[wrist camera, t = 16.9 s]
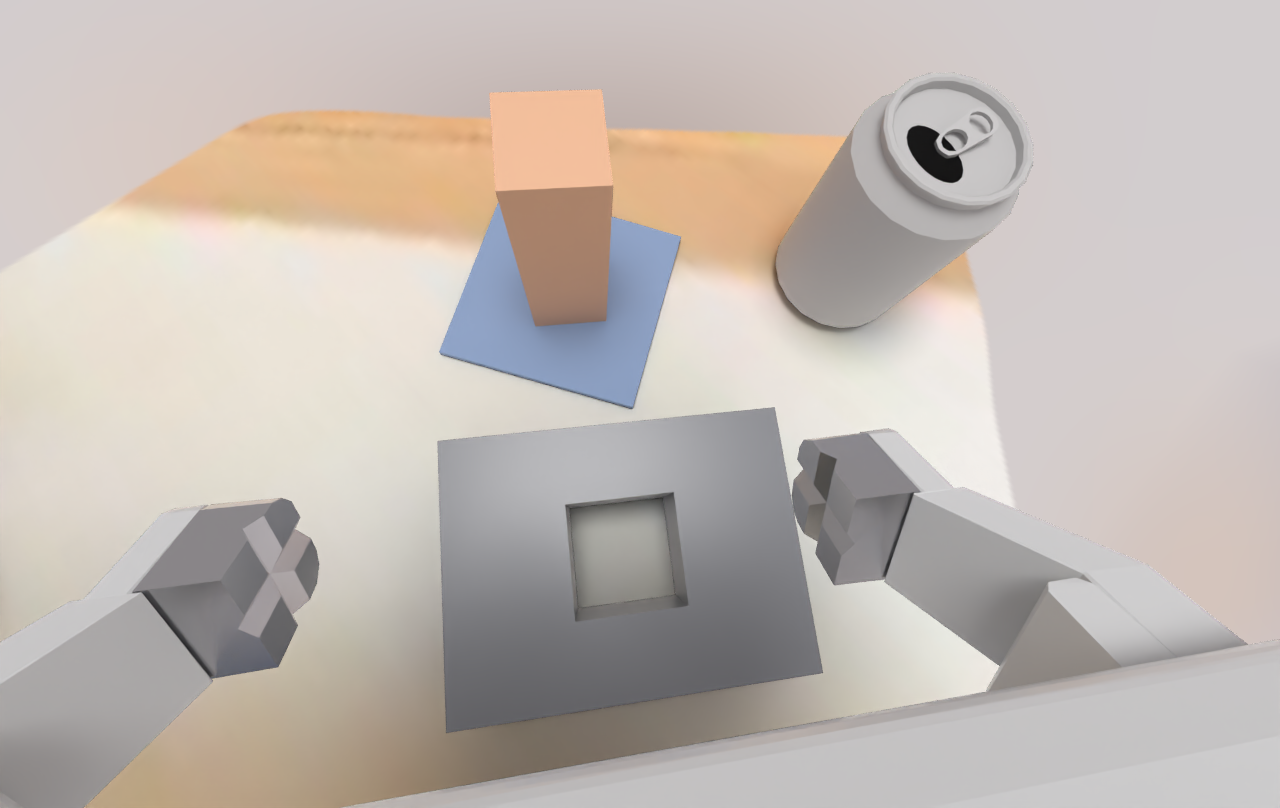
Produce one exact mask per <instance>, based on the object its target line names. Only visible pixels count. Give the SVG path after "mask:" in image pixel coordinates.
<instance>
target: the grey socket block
mask: <svg viewBox="0 0 1280 808" xmlns="http://www.w3.org/2000/svg"><path fill="white" fill-rule="evenodd" d="M438 474H439V507H440V540H441V574H442V607H443V640H444V674H445V707H446V733H449V732H456V731H462V730H468V729H474V728H481V727H487V726H493V725H500V724H506V723H512V722H518V721H525V720H531V719H537V718H544V717H550V716H556V715H562V714H569V713H575V712H581V711H588V710H594V709H600V708H606V707H613V706H619V705H625V704H632V703H638V702H644V701H650V700H657V699H663V698H669V697H676V696H682V695H688V694H695V693H701V692H707V691H713V690H720V689H726V688H732V687H739V686H745V685H751V684H757V683H764V682H770V681H776V680H783V679H789V678H795V677H801V676H808V675H814V674H820V673H823V670H822V665H821V659H820V654H819V648H818V643H817V637H816V632H815V626H814V621H813V615H812V610H811V604H810V599H809V593H808V588H807V582H806V577H805V571H804V566H803V560H802V555H801V549H800V544H799V538H798V533H797V527H796V522H795V516H794V511H793V505H792V500H791V494H790V489H789V483H788V478H787V472H786V467H785V462H784V456H783V451H782V445H781V440H780V434H779V429H778V423H777V418H776V412H775V407H773V408H763V409H753V410H743V411H733V412H723V413H713V414H703V415H693V416H683V417H673V418H663V419H653V420H643V421H633V422H623V423H613V424H603V425H593V426H583V427H573V428H563V429H553V430H543V431H533V432H523V433H513V434H503V435H493V436H483V437H473V438H463V439H453V440H443V441H438ZM661 497H663V502H664V510H665V518H666V526H667V534H668V542H669V550H670V557H671V565H672V573H673V581H674V589H675V595H672V596H664V597H657V598H650V599H642V600H635V601H628V602H621V603H613V604H606V605H599V606H592V607H584V608H578V601H577V590H576V578H575V566H574V555H573V543H572V532H571V520H570V508H576V507H584V506H593V505H601V504H610V503H618V502H627V501H636V500H644V499H653V498H661Z"/></svg>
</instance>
